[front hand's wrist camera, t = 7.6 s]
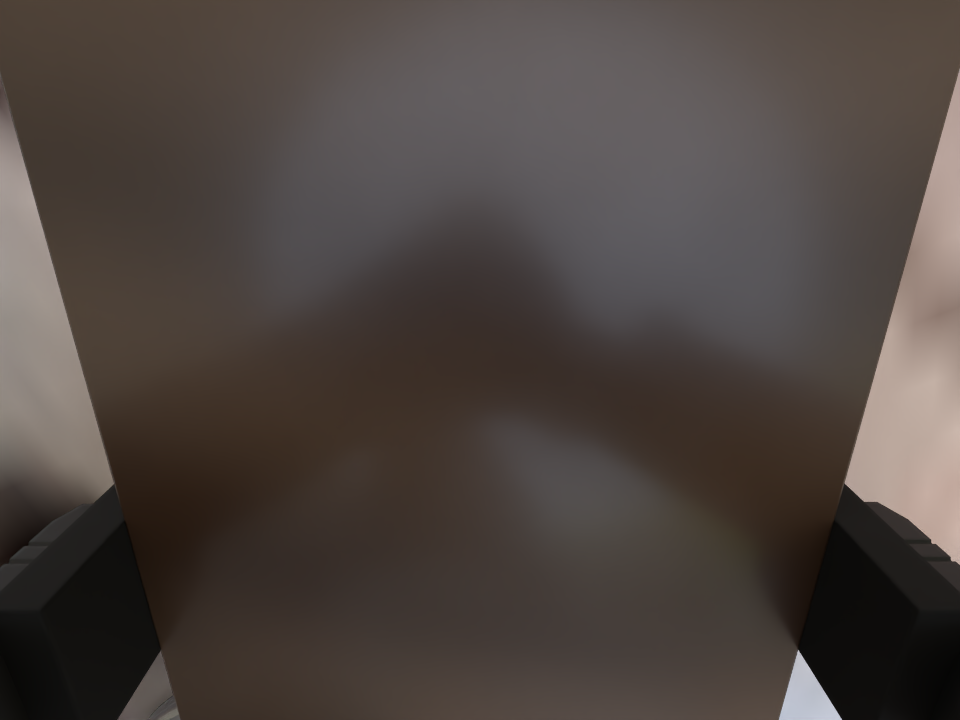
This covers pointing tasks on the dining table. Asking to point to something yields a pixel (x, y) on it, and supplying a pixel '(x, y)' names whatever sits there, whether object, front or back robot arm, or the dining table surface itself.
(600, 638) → the brown-grey rectangular block
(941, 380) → the dining table surface
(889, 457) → the dining table surface
